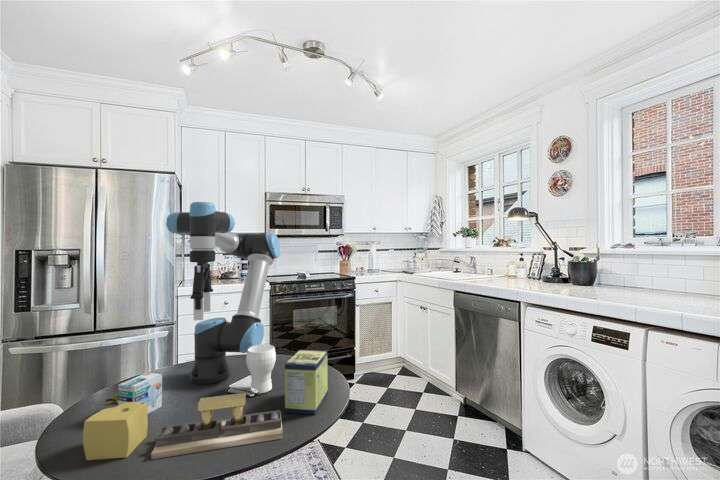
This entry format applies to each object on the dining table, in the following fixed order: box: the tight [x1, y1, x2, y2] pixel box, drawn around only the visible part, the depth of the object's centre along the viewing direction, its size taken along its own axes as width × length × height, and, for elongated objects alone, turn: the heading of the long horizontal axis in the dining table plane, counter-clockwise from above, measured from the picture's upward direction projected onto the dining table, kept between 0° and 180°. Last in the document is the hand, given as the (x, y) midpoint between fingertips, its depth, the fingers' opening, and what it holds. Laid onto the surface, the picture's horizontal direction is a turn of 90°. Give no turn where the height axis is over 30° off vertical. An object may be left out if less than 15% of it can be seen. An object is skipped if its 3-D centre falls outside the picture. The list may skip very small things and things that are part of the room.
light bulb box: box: [117, 372, 163, 415], centre depth 107 cm, size 11×7×11 cm, turn 166°
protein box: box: [284, 349, 329, 416], centre depth 113 cm, size 10×16×16 cm
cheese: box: [82, 402, 149, 461], centre depth 89 cm, size 10×11×10 cm
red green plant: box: [104, 393, 118, 405], centre depth 118 cm, size 12×12×5 cm
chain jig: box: [150, 409, 284, 460], centre depth 94 cm, size 12×32×4 cm, turn 106°
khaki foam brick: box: [197, 392, 247, 430], centre depth 94 cm, size 4×12×9 cm, turn 106°
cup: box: [245, 344, 277, 394], centre depth 124 cm, size 11×11×15 cm
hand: (202, 315), depth 108 cm, fingers open, 13 cm apart
